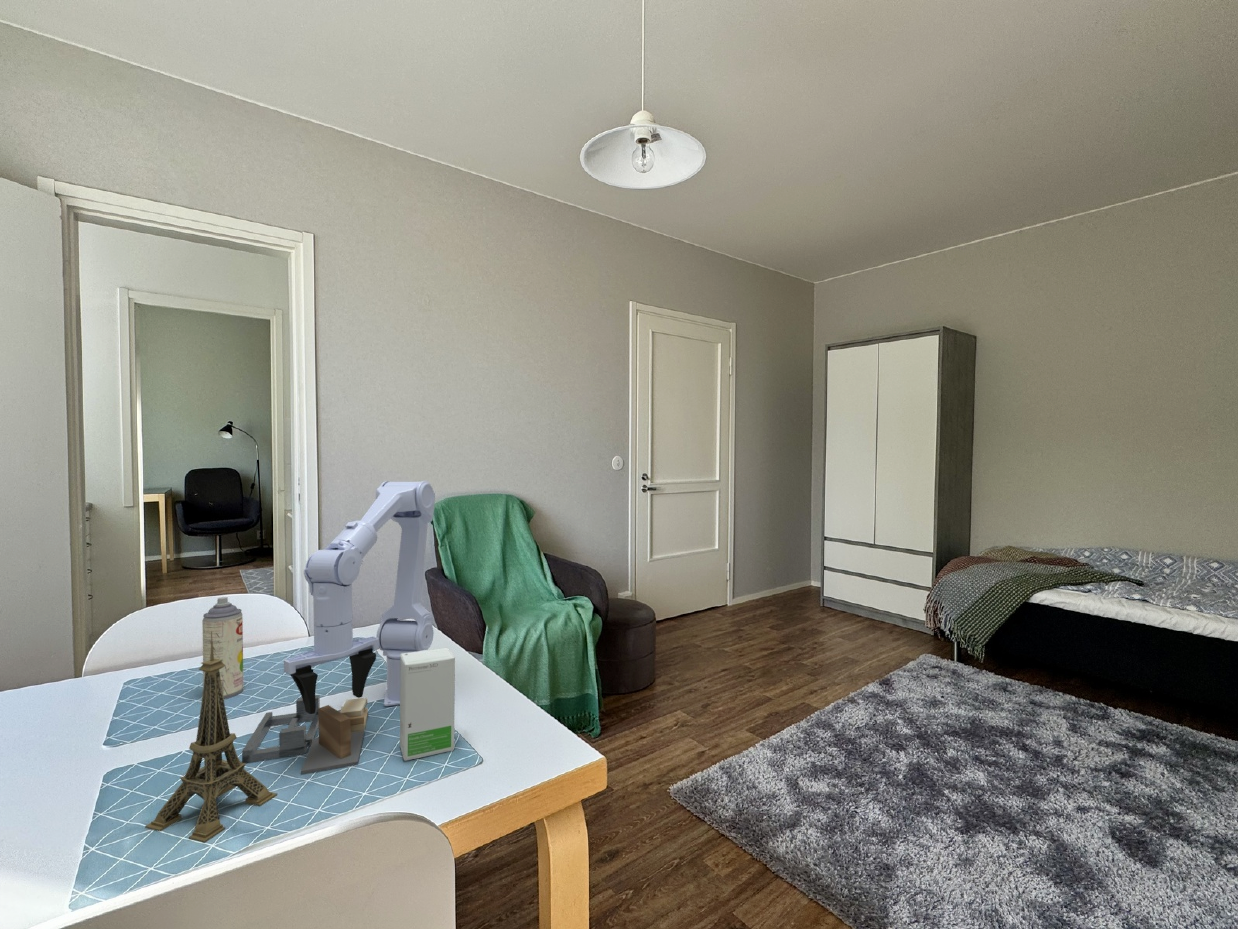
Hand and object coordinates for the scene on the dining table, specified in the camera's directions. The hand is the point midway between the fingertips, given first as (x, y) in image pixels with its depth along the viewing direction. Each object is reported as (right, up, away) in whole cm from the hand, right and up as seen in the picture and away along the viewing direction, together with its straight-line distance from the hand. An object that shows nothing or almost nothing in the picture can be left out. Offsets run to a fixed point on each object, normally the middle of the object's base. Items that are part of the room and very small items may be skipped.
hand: (334, 703), depth 93 cm
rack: (-11, -8, +5) cm, 15 cm away
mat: (0, -8, 0) cm, 8 cm away
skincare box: (+15, -8, +1) cm, 17 cm away
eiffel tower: (-9, -9, -15) cm, 20 cm away
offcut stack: (-2, -8, +10) cm, 13 cm away
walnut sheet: (0, -8, 0) cm, 8 cm away
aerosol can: (-35, -8, +24) cm, 44 cm away
